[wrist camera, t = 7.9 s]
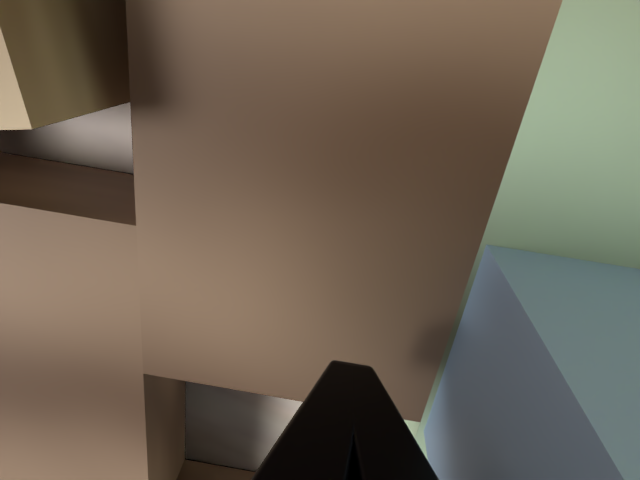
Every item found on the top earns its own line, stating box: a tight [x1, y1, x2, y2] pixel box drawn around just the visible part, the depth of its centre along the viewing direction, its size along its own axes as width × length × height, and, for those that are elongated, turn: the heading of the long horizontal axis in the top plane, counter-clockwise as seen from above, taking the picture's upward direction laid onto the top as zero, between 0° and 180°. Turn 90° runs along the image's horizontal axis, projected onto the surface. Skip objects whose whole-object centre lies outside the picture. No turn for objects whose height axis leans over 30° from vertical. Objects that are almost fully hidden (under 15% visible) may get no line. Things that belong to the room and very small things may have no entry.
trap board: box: [0, 0, 640, 480], centre depth 10 cm, size 17×24×2 cm
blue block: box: [424, 245, 640, 480], centre depth 6 cm, size 4×4×4 cm
